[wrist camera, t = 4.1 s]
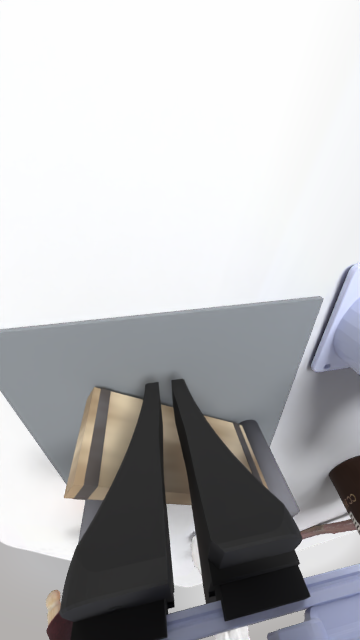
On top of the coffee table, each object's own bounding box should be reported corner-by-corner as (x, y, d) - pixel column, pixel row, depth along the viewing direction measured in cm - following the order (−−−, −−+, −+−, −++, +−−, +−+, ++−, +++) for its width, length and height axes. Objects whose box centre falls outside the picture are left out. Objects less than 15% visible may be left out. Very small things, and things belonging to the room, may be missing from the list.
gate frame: (320, 296, 13) (469, 394, 7) (266, 447, 22) (312, 545, 16) (-34, 333, 11) (-239, 517, 5) (69, 483, 20) (40, 610, 14)
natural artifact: (396, 478, 40) (418, 502, 38) (290, 531, 45) (305, 554, 43) (406, 488, 36) (430, 516, 35) (290, 545, 42) (306, 571, 40)
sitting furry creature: (230, 536, 38) (262, 664, 28) (181, 543, 36) (198, 684, 26) (250, 513, 33) (299, 658, 23) (196, 520, 31) (223, 682, 21)
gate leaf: (242, 424, 18) (273, 500, 14) (232, 433, 18) (259, 509, 14) (94, 386, 13) (73, 483, 9) (86, 400, 14) (63, 498, 9)
